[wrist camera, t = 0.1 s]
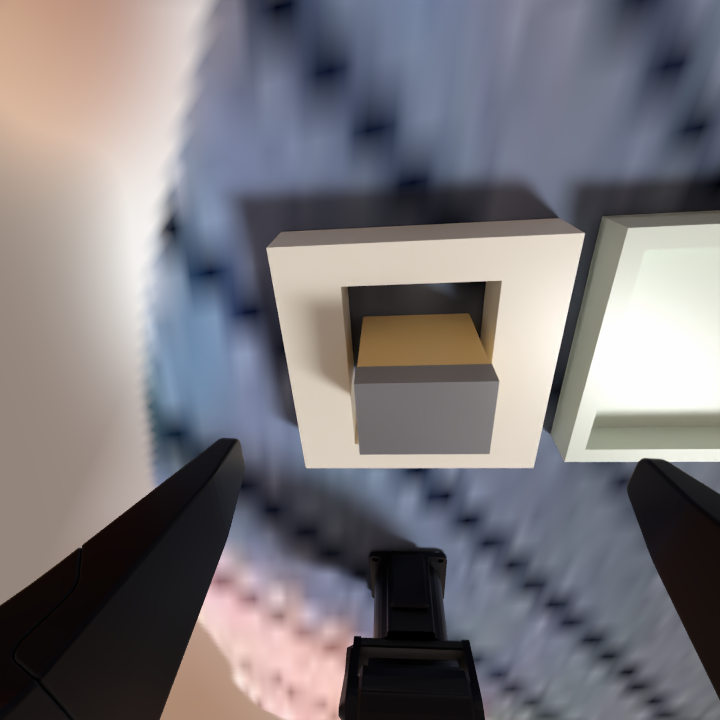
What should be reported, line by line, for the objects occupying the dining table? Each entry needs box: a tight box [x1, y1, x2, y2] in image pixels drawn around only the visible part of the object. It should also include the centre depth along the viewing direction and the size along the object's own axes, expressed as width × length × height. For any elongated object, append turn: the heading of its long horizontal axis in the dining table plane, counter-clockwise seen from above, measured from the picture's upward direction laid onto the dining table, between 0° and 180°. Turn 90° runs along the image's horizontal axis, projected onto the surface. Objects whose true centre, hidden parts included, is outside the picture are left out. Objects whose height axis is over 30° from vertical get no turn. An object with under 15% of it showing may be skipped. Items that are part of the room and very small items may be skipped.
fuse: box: [354, 313, 500, 455], centre depth 21 cm, size 4×6×7 cm
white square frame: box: [266, 218, 585, 468], centre depth 23 cm, size 14×14×3 cm
